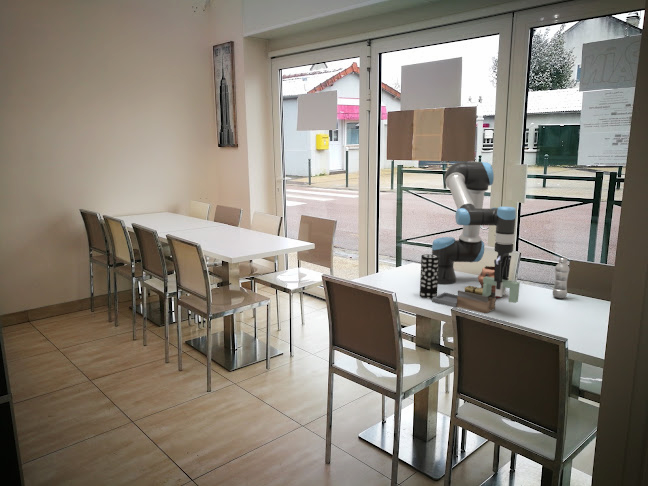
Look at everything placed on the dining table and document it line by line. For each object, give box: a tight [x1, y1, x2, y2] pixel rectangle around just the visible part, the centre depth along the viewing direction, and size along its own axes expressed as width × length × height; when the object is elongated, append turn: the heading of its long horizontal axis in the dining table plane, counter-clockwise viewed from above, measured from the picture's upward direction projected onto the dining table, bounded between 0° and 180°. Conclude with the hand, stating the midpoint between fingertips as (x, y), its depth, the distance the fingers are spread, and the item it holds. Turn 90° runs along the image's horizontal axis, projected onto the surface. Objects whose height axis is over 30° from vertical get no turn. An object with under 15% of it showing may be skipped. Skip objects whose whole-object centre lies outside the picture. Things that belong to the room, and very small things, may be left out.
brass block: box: [464, 285, 478, 294], centre depth 235 cm, size 4×4×4 cm
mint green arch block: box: [482, 276, 520, 304], centre depth 226 cm, size 6×15×8 cm, turn 49°
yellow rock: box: [475, 287, 483, 295], centre depth 232 cm, size 4×4×4 cm
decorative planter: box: [477, 265, 501, 299], centre depth 252 cm, size 20×12×14 cm, turn 130°
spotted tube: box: [419, 253, 439, 300], centre depth 249 cm, size 8×8×20 cm
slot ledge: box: [456, 290, 497, 314], centre depth 234 cm, size 10×14×8 cm
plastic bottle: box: [552, 256, 570, 300], centre depth 248 cm, size 6×7×20 cm
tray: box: [431, 291, 458, 308], centre depth 243 cm, size 12×12×2 cm
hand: (500, 295), depth 226 cm, fingers closed on mint green arch block, 3 cm apart
